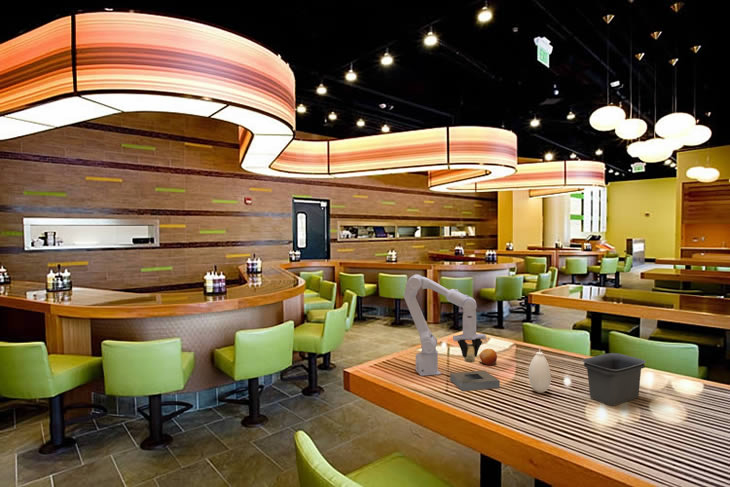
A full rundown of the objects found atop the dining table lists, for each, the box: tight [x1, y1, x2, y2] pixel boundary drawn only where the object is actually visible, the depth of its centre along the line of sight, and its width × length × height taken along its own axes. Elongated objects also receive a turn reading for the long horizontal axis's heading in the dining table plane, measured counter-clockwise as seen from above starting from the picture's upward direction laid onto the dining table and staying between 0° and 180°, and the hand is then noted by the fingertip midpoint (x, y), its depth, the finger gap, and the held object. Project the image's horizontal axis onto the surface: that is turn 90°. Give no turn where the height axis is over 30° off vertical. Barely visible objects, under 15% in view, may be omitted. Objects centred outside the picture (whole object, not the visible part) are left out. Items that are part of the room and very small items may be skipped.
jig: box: [449, 370, 501, 392], centre depth 160 cm, size 16×12×3 cm
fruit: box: [478, 348, 498, 366], centre depth 187 cm, size 8×8×8 cm
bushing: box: [463, 343, 476, 363], centre depth 170 cm, size 4×4×7 cm
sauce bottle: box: [528, 345, 552, 394], centre depth 152 cm, size 8×8×18 cm
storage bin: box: [582, 352, 647, 407], centre depth 146 cm, size 21×16×14 cm
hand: (469, 356), depth 170 cm, fingers closed on bushing, 4 cm apart
